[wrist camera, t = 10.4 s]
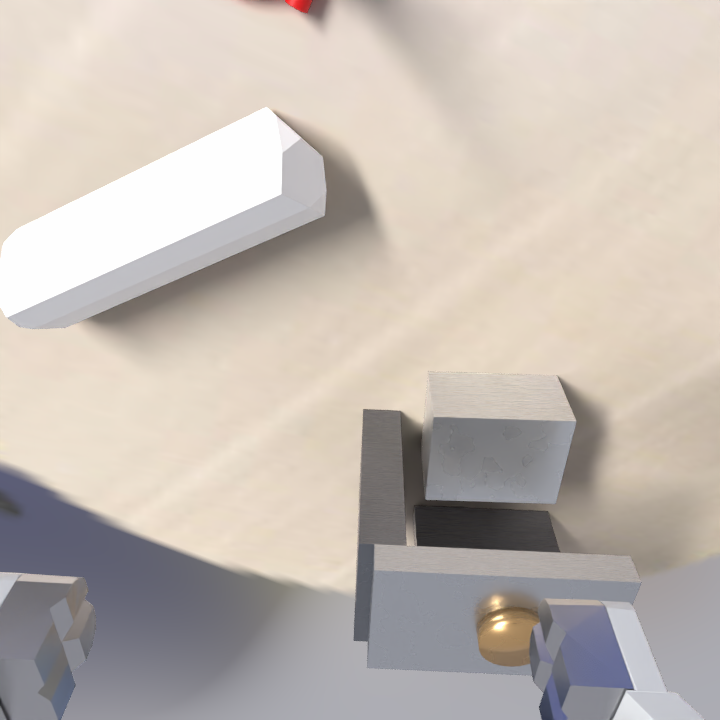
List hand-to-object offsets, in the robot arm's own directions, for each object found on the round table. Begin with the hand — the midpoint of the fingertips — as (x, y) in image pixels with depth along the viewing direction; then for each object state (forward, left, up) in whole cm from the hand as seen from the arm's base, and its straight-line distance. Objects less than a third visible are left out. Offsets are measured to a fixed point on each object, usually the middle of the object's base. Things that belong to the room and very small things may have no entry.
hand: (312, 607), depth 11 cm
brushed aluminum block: (+21, +11, -34) cm, 42 cm away
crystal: (+6, -13, -35) cm, 37 cm away
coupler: (+27, +10, -34) cm, 45 cm away
